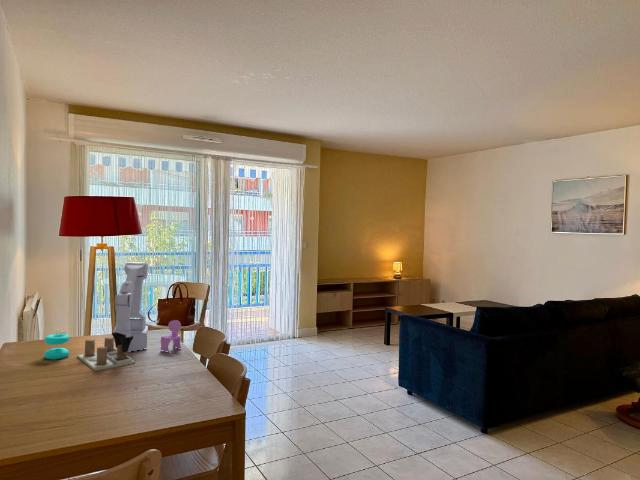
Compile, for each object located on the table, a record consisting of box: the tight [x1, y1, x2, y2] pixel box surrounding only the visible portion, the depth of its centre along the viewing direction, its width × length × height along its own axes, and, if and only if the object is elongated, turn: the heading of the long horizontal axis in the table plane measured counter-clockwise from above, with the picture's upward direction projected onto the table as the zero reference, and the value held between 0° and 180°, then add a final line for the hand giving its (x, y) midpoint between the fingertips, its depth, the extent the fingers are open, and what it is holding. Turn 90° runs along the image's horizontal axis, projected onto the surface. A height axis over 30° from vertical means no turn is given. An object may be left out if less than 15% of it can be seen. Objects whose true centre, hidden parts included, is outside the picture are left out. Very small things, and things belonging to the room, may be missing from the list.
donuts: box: [43, 333, 70, 360], centre depth 201 cm, size 10×10×10 cm
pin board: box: [76, 336, 136, 371], centre depth 199 cm, size 17×24×8 cm
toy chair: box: [160, 319, 182, 352], centre depth 219 cm, size 8×9×15 cm
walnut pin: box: [116, 344, 128, 361], centre depth 196 cm, size 4×4×7 cm
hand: (121, 349), depth 196 cm, fingers open, 7 cm apart
